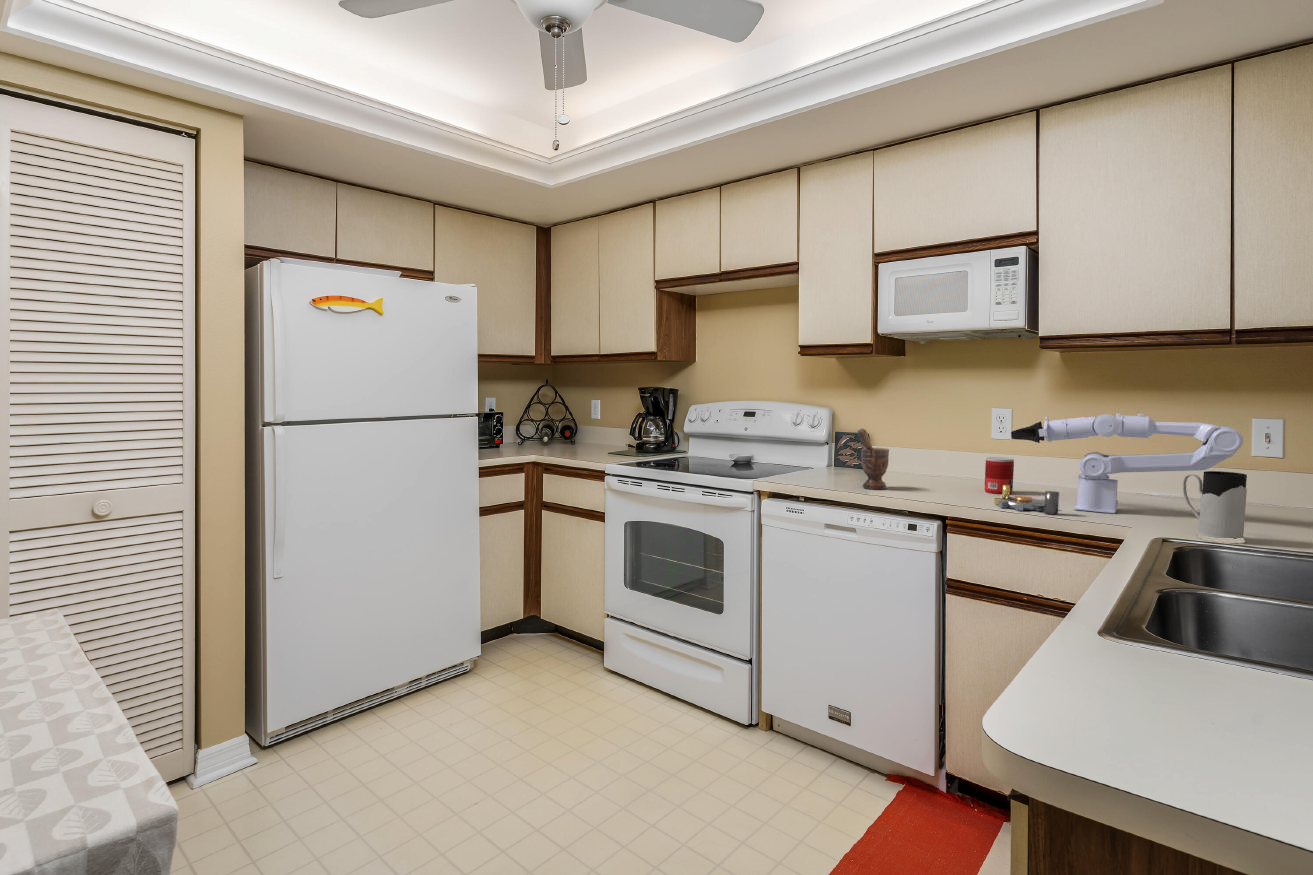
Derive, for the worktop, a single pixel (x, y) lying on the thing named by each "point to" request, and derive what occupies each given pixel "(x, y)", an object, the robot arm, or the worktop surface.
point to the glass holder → (1220, 504)
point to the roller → (1051, 502)
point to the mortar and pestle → (873, 462)
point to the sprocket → (1018, 501)
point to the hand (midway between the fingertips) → (1013, 434)
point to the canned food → (998, 474)
